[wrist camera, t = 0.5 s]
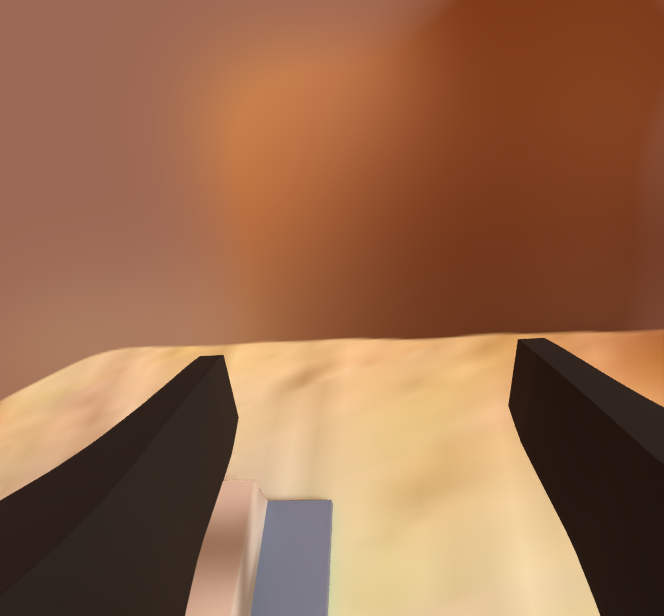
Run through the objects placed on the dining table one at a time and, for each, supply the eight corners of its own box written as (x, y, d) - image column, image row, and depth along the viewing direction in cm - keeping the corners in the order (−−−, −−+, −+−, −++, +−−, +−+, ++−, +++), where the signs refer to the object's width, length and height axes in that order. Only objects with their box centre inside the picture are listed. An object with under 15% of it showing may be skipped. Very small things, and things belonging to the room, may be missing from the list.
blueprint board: (319, 798, 18) (303, 805, 15) (-16, 769, 20) (-78, 772, 18) (332, 503, 26) (323, 478, 24) (96, 506, 29) (65, 483, 26)
